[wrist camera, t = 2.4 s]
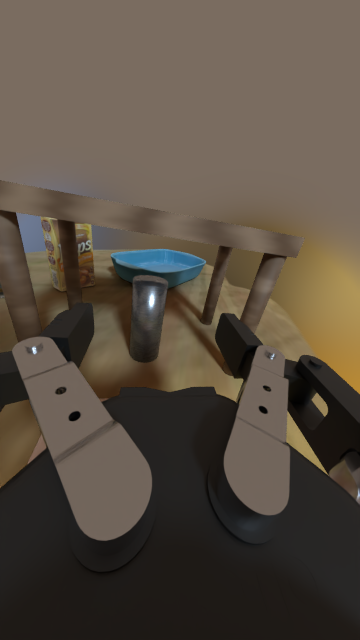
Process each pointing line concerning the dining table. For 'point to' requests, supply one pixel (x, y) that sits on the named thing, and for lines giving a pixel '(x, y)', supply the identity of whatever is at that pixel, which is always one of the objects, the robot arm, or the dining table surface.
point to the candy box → (56, 256)
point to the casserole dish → (158, 265)
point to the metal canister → (147, 316)
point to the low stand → (8, 252)
